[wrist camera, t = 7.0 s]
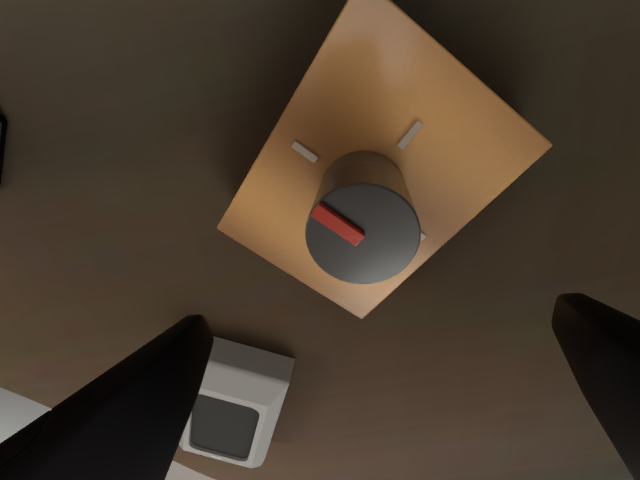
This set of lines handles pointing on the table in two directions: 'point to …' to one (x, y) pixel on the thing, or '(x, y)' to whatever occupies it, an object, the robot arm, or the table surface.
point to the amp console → (381, 144)
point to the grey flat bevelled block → (238, 404)
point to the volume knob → (363, 220)
